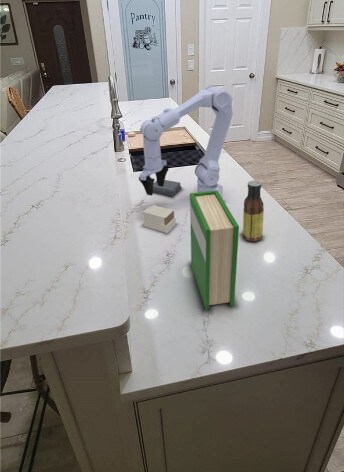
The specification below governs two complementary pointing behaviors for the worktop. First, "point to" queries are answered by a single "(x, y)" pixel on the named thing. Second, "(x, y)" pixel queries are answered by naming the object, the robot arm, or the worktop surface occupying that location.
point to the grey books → (167, 188)
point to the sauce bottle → (253, 213)
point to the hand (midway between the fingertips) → (155, 190)
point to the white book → (159, 214)
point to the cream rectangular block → (160, 225)
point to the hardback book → (213, 247)
